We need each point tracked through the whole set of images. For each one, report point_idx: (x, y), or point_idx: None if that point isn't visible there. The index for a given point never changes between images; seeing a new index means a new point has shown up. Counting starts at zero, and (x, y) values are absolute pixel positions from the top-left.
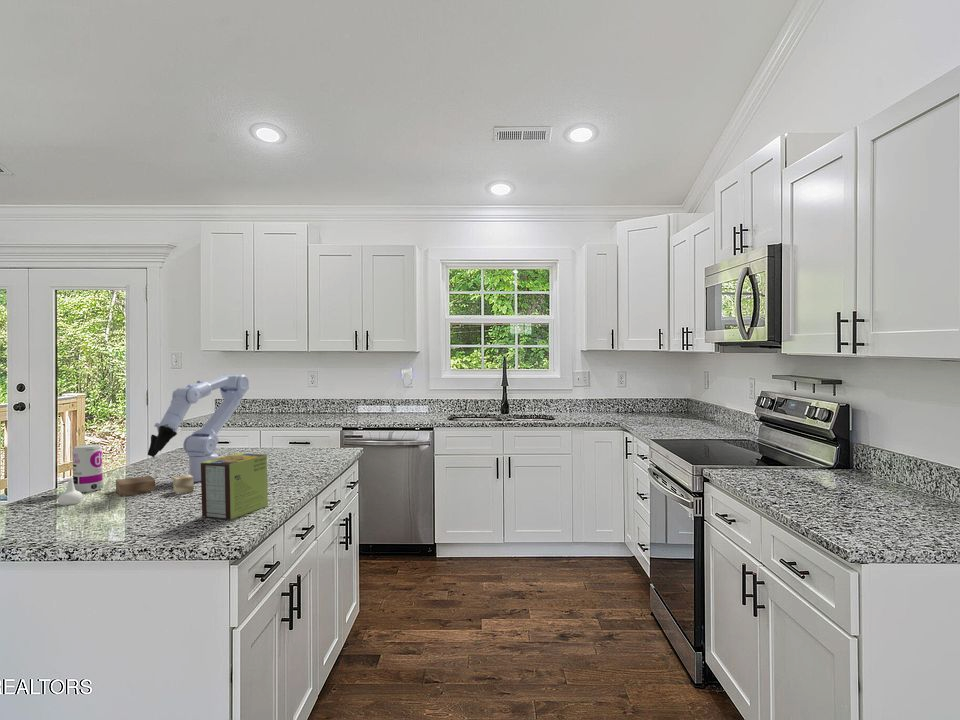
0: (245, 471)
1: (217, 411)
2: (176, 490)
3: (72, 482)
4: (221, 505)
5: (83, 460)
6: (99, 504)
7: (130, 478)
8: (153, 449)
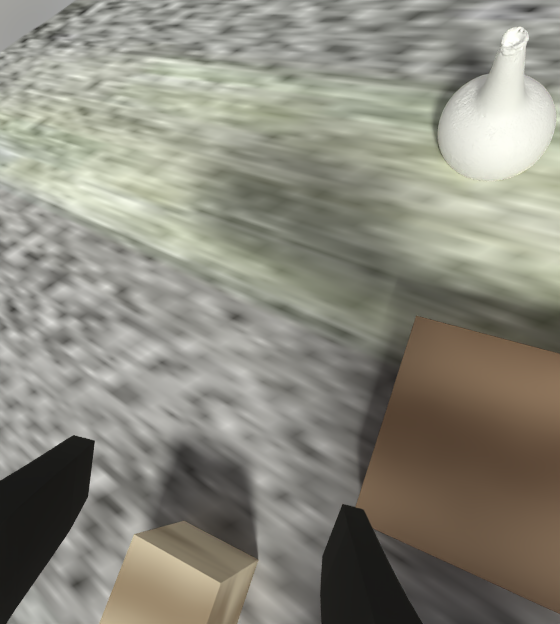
0: None
1: None
2: (181, 527)
3: (497, 67)
4: None
5: None
6: (335, 215)
7: None
8: (344, 599)
